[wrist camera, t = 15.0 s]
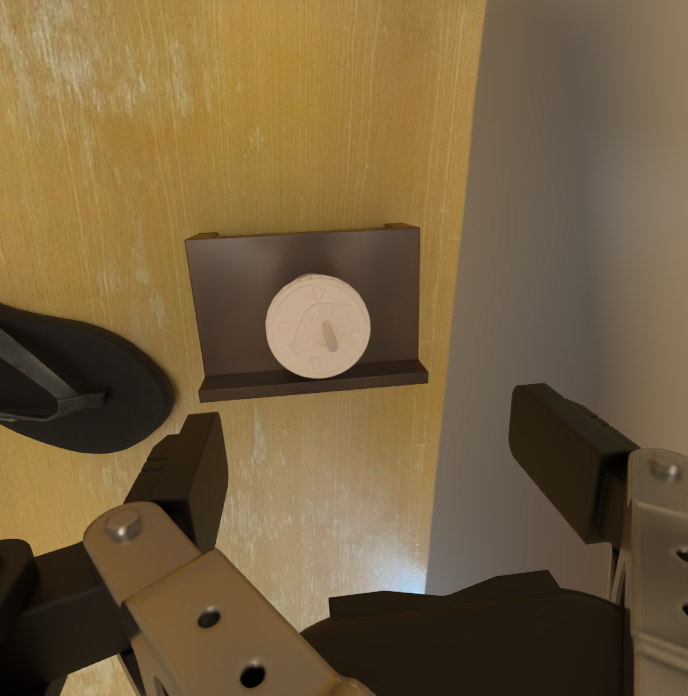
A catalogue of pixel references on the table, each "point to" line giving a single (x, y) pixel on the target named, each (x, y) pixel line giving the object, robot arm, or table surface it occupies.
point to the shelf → (278, 271)
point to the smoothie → (317, 326)
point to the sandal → (77, 384)
